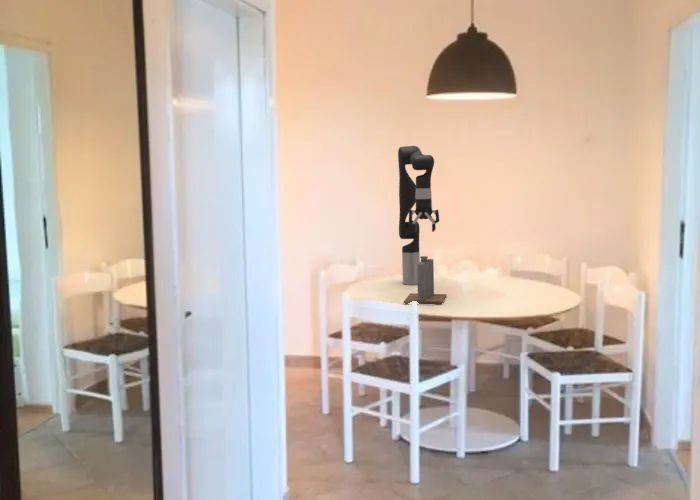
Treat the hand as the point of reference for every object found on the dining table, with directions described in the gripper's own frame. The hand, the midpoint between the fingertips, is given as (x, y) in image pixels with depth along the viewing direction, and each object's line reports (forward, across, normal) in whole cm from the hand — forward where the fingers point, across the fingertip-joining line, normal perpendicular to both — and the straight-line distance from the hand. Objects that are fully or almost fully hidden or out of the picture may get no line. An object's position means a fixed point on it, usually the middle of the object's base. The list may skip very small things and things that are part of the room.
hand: (424, 231), depth 379 cm
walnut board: (+33, 0, 0) cm, 33 cm away
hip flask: (+32, 0, 0) cm, 32 cm away
